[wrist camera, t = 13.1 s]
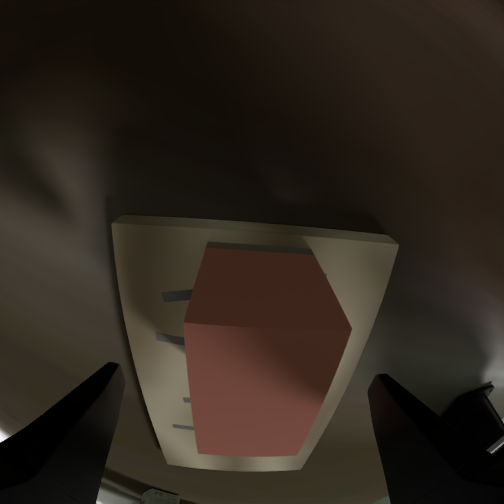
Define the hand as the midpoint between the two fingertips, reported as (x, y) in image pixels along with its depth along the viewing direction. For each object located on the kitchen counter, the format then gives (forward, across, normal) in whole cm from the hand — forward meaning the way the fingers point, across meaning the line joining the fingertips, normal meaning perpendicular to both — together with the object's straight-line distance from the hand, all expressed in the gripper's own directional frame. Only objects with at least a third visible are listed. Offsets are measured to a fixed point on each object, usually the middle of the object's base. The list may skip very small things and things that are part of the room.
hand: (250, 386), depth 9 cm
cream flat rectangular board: (+5, 0, +7) cm, 9 cm away
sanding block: (+4, 0, 0) cm, 4 cm away
